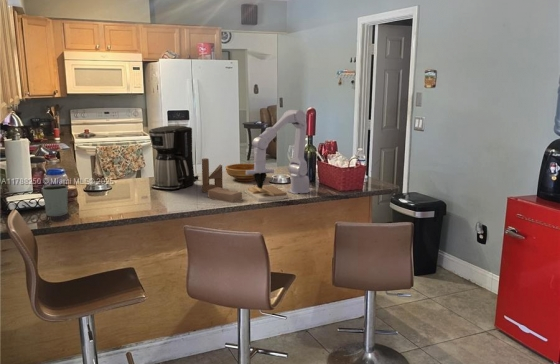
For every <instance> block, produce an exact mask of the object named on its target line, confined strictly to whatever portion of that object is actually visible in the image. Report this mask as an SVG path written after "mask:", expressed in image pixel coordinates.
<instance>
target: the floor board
mask: <svg viewBox="0 0 560 364" xmlns="http://www.w3.org/2000/svg"><path fill="white" fill-rule="evenodd" d="M263 188H265V189H267V190H269V191H270V192H272V193H274V196H272V195H269V194H266V193H255V194H253V193H252V192H250V191H248V189H245V190H244V191H245V194H247V195H248V196H250V197H251V198H253V199H254V200H255V201H258V202H263V201H265V202H266V201H275V199H277V200H285V199H284V198H287V199H288V198H289V195H288V194H287V193H288V192H286V191H284V190H282V189H280V188H279V187H276V186H275V185H265V186H264V185H263Z"/></svg>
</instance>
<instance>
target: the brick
mask: <svg viewBox="0 0 560 364" xmlns="http://www.w3.org/2000/svg"><path fill="white" fill-rule="evenodd" d="M207 196H208V199H212V200H217V201H223V202H226V203H227V202H229V203H235V202H238V201H242V200H243V192H242V191H238V190H232V189H231V190H230V189H227V188H224V187H223V188H220V187H217V188H214V189H211V190H208V192H207Z"/></svg>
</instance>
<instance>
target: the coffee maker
mask: <svg viewBox="0 0 560 364" xmlns="http://www.w3.org/2000/svg"><path fill="white" fill-rule="evenodd" d="M148 135H149V140H150V143H151V147H152V149H153V150H156V157H155V161H154V173H153V175H154V176H153V178H154V184H151V185H150V187H151V188H152V189H156V190H164V191H176V190H180V189H183V188H184V189H187V188H188V187H190V186H192V185H194V183H195V181H197V180H199V177H201V176H199V175H198V174H197V175H195V172H194V171H195V170H194V160H193V128H192V127H190V126H186V125H185V126H184V125H165V126H159V127H154V128H150V129H149V130H148Z"/></svg>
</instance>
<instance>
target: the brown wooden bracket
mask: <svg viewBox="0 0 560 364" xmlns="http://www.w3.org/2000/svg"><path fill="white" fill-rule="evenodd" d="M209 160H210V159H209V158H202V159H201V177H202V182H201V183H202V185H201V192H202V193H208V190H211V189H214V188H217V187H220V188H224V187H223V165H222V164H219V165H218V166H217V167H216V168H215V169H214V171H212V172H211V174H210V165H209V164H210V163H209V162H210V161H209ZM210 180H213V181H214V183H211V184H210Z"/></svg>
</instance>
